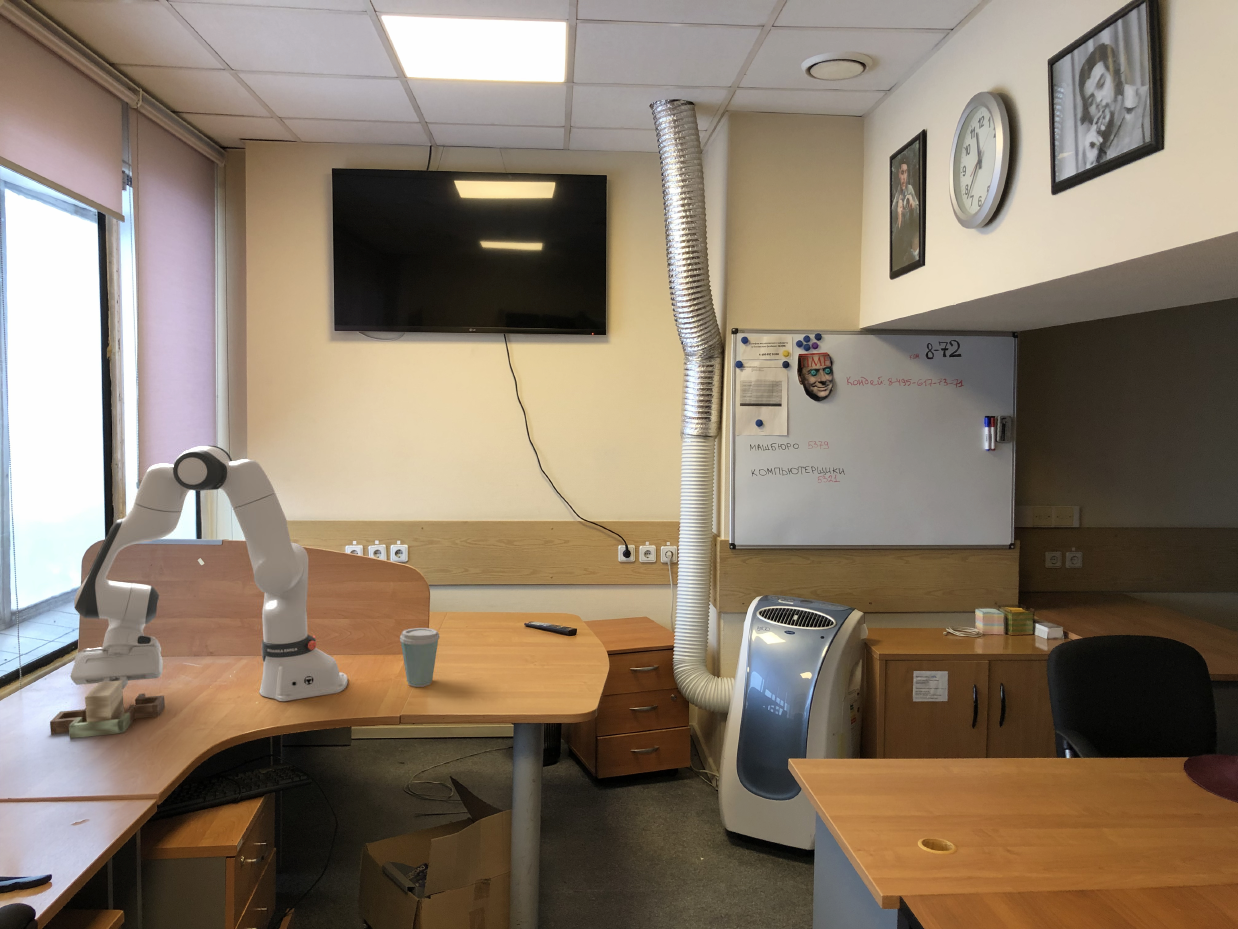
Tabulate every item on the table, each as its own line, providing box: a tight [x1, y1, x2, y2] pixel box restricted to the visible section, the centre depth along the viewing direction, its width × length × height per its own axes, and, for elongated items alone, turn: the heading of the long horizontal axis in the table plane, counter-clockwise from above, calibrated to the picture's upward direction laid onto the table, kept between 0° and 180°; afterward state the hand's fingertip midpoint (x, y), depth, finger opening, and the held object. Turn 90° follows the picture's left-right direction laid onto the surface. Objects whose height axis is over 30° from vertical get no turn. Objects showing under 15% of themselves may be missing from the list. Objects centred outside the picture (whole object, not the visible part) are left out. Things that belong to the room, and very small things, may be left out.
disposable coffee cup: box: [399, 627, 440, 688], centre depth 232 cm, size 11×11×15 cm
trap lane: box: [49, 692, 166, 739], centre depth 208 cm, size 22×18×3 cm
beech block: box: [84, 680, 125, 722], centre depth 205 cm, size 5×10×9 cm, turn 15°
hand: (112, 696), depth 211 cm, fingers closed, pressing on beech block
